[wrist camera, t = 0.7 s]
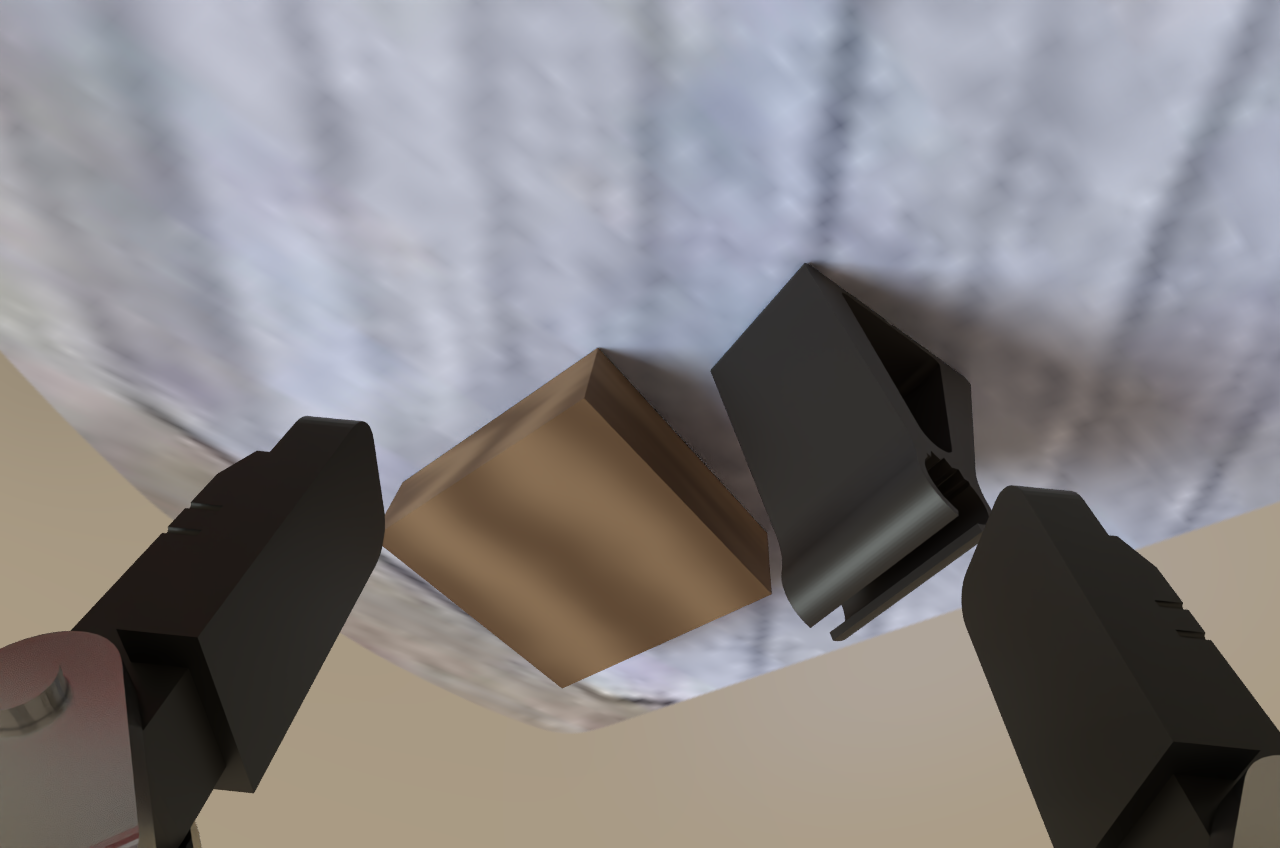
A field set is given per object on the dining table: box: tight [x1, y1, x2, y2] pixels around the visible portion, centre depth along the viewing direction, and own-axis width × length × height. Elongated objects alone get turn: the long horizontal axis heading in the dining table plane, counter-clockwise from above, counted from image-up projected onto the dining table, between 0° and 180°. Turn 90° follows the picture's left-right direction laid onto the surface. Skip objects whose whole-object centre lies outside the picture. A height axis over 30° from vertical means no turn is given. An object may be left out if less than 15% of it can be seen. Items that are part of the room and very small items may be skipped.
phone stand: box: [711, 263, 992, 641], centre depth 27 cm, size 9×6×12 cm, turn 56°
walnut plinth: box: [383, 348, 772, 688], centre depth 36 cm, size 13×13×4 cm
